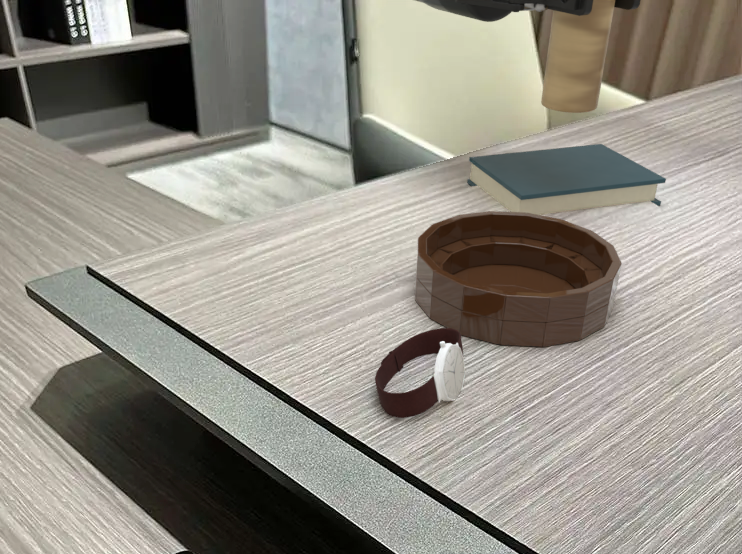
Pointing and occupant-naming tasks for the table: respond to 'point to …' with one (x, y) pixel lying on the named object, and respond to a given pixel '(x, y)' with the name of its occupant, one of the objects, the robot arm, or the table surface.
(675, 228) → the table surface
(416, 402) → the watch
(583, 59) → the pepper mill
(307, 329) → the table surface
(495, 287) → the bowl
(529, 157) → the book
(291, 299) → the table surface
